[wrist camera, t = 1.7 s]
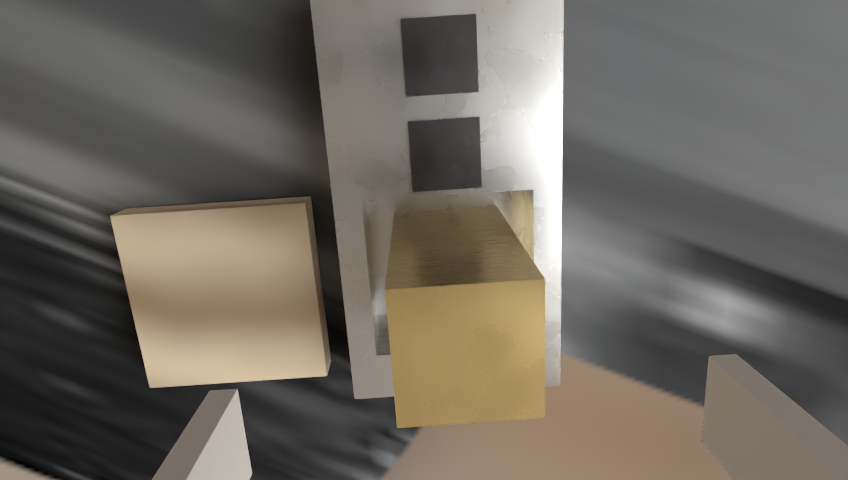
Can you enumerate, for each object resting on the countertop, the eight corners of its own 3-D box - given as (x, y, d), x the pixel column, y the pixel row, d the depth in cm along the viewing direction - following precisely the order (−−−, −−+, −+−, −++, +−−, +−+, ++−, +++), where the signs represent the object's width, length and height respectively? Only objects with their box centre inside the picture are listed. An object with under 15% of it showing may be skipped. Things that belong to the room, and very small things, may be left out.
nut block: (393, 213, 27) (385, 289, 17) (496, 206, 27) (545, 278, 17) (401, 308, 28) (397, 427, 19) (499, 301, 28) (545, 417, 19)
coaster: (126, 208, 27) (110, 215, 25) (310, 196, 27) (305, 202, 26) (162, 372, 29) (149, 387, 28) (331, 361, 30) (327, 376, 28)
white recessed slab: (321, 6, 25) (309, -4, 22) (545, -8, 25) (564, -20, 22) (359, 367, 30) (354, 399, 27) (545, 355, 30) (560, 385, 27)
